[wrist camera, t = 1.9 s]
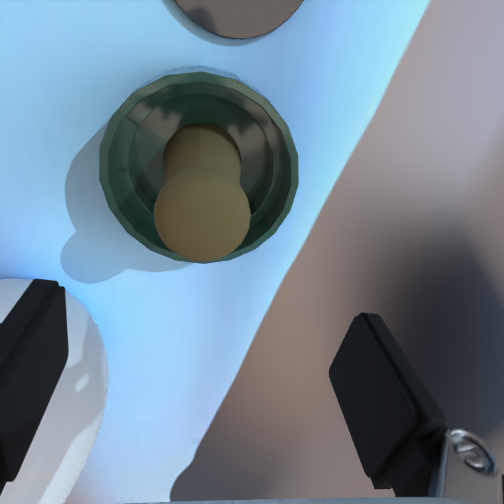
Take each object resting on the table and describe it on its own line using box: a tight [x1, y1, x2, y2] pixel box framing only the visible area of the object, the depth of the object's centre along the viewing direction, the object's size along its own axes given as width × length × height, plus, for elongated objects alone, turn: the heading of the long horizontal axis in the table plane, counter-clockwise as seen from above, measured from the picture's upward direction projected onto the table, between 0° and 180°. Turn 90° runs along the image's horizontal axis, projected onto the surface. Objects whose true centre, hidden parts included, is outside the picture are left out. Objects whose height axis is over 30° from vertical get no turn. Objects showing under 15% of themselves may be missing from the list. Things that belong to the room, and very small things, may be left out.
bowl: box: [99, 66, 298, 264], centre depth 25 cm, size 13×13×4 cm
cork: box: [154, 122, 251, 262], centre depth 22 cm, size 6×6×11 cm
